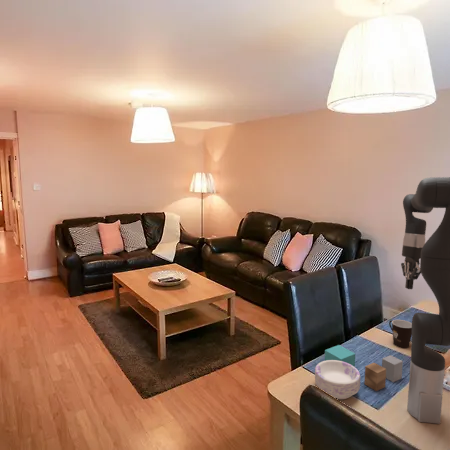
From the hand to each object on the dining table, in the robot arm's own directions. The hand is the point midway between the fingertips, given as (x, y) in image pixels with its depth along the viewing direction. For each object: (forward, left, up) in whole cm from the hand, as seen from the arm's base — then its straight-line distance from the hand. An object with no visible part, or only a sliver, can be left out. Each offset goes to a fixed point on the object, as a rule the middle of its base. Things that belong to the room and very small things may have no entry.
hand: (408, 288), depth 134 cm
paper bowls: (-23, +30, -32) cm, 49 cm away
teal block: (-10, +27, -32) cm, 43 cm away
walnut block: (-18, +16, -32) cm, 39 cm away
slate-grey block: (-11, +8, -32) cm, 34 cm away
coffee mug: (+17, -4, -32) cm, 36 cm away
